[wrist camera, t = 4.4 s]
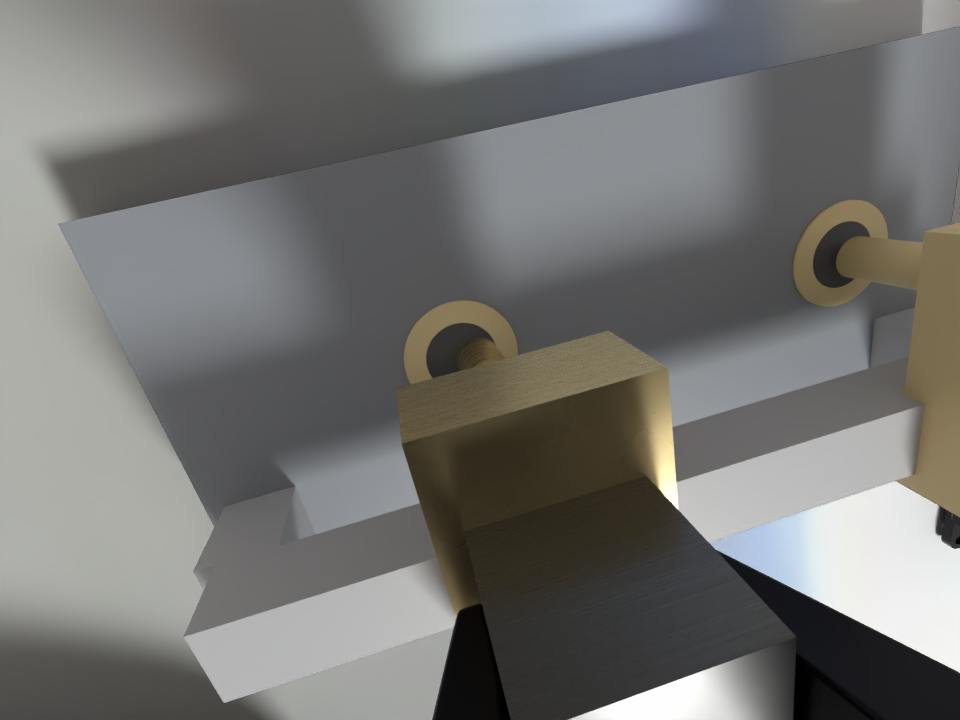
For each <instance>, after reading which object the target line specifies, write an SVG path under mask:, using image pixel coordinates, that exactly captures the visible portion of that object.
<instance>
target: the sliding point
mask: <svg viewBox="0 0 960 720" xmlns="http://www.w3.org/2000/svg"><path fill="white" fill-rule="evenodd" d="M456 363H457V367H458V369H459V371H458V372H455V373H451V374H447V375H444V376H440V377H436V378H433V379H429V380H425V381H422V382H418V383H414V384H411V385H407V386H403V387H400V388H396V389H397V401H398V412H399V423H400V434H401V444H402V447H403V451H404V454H405V457H406V460H407V463H408V467H409V470H410V473H411V476H412V479H413V483H414V486H415V489H416V492H417V495H418V499H419V502H420V505H421V508H422V511H423V515H424V518H425V521H426V524H427V527H428V531H429V534H430V537H431V540H432V543H433V547H434V550H435V553H436V556H437V559H438V563H439V566H440V569H441V572H442V575H443V579H444V582H445V585H446V588H447V591H448V595H449V598H450V601H451V604H452V607H453V611H454V614H455V617H456V616H457V614H458V612H459V610H461V609H463V608H466V607H469V606H472V605H475V604H478V603H481V604H482V606H483V610H484V614H485V618H486V623H487V627H488V631H489V635H490V639H491V643H492V647H493V651H494V655H495V659H496V663H497V667H498V671H499V675H500V679H501V683H502V687H503V691H504V695H505V699H506V703H507V707H508V711H509V715H510V719H511V720H793V708H794V685H795V662H796V640H797V637H796V636H795V635H794V634H793V633H792V631H791V630H790V629H789V628H788V627H787V626H786V625H785V624H784V623H783V622H782V621H781V620H780V619H779V618H778V616H777V615H776V614H775V613H774V612H773V611H772V610H771V609H770V608H769V607H768V606H767V605H766V604H765V602H764V601H763V600H762V599H761V598H760V597H759V596H758V595H757V594H756V593H755V592H754V591H753V590H752V589H751V587H750V586H749V585H748V584H747V583H746V582H745V581H744V580H743V579H742V578H741V577H740V576H739V575H738V573H737V572H736V571H735V570H734V569H733V568H732V567H731V566H730V565H729V564H728V563H727V562H726V561H725V560H724V558H723V557H722V556H721V555H720V554H719V553H718V552H717V551H716V550H715V549H714V548H713V547H712V546H711V544H710V543H709V542H708V541H707V540H706V539H705V538H704V537H703V536H702V535H701V534H700V533H699V532H698V531H697V529H696V528H695V527H694V526H693V525H692V524H691V523H690V522H689V521H688V520H687V519H686V518H685V517H684V515H683V514H682V513H681V512H680V511H679V510H678V498H677V485H676V471H675V457H674V443H673V429H672V415H671V401H670V388H669V374H668V367H666V366H665V365H663V364H662V363H660V362H658V361H657V360H655V359H653V358H652V357H650V356H649V355H647V354H645V353H644V352H642V351H641V350H639V349H637V348H636V347H634V346H633V345H631V344H629V343H628V342H626V341H624V340H623V339H621V338H620V337H618V336H616V335H615V334H613V333H612V332H610V331H605V332H601V333H598V334H594V335H590V336H587V337H583V338H579V339H576V340H572V341H568V342H565V343H561V344H557V345H554V346H550V347H546V348H543V349H539V350H535V351H532V352H528V353H524V354H521V355H517V356H513V357H510V358H505V357H504V356H503V354H502V353H501V352H500V350H499V349H498V348H497V346H496V345H495V344H494V343H493V342H492V341H490V340H488V339H486V338H473V339H470V340H468V341H466V342H465V343H464V344H463V345H462V346H461V347H460V349H459V350H458V353H457V356H456Z"/></svg>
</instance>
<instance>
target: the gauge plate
mask: <svg viewBox="0 0 960 720" xmlns="http://www.w3.org/2000/svg"><path fill="white" fill-rule="evenodd" d="M959 164H960V27H955V28H951V29H946V30H941V31H937V32H932V33H928V34H923V35H919V36H914V37H909V38H905V39H900V40H896V41H891V42H887V43H882V44H877V45H873V46H868V47H864V48H859V49H855V50H850V51H845V52H841V53H836V54H832V55H827V56H823V57H818V58H813V59H809V60H804V61H800V62H795V63H791V64H786V65H781V66H777V67H772V68H768V69H763V70H759V71H754V72H749V73H745V74H740V75H736V76H731V77H727V78H722V79H717V80H713V81H708V82H704V83H699V84H695V85H690V86H685V87H681V88H676V89H672V90H667V91H663V92H658V93H653V94H649V95H644V96H640V97H635V98H631V99H626V100H621V101H617V102H612V103H608V104H603V105H599V106H594V107H589V108H585V109H580V110H576V111H571V112H567V113H562V114H557V115H553V116H548V117H544V118H539V119H535V120H530V121H525V122H521V123H516V124H512V125H507V126H503V127H498V128H493V129H489V130H484V131H480V132H475V133H471V134H466V135H461V136H457V137H452V138H448V139H443V140H439V141H434V142H429V143H425V144H420V145H416V146H411V147H407V148H402V149H397V150H393V151H388V152H384V153H379V154H375V155H370V156H365V157H361V158H356V159H352V160H347V161H343V162H338V163H333V164H329V165H324V166H320V167H315V168H311V169H306V170H301V171H297V172H292V173H288V174H283V175H279V176H274V177H269V178H265V179H260V180H256V181H251V182H247V183H242V184H237V185H233V186H228V187H224V188H219V189H215V190H210V191H205V192H201V193H196V194H192V195H187V196H183V197H178V198H173V199H169V200H164V201H160V202H155V203H151V204H146V205H141V206H137V207H132V208H128V209H123V210H119V211H114V212H109V213H105V214H100V215H96V216H91V217H87V218H82V219H77V220H73V221H68V222H64V223H59V224H58V225H59V227H60V229H61V231H62V233H63V235H64V237H65V238H66V240H67V242H68V244H69V246H70V248H71V250H72V252H73V254H74V256H75V258H76V260H77V262H78V264H79V266H80V268H81V269H82V271H83V273H84V275H85V277H86V279H87V281H88V283H89V285H90V287H91V289H92V291H93V293H94V295H95V297H96V299H97V301H98V302H99V304H100V306H101V308H102V310H103V312H104V314H105V316H106V318H107V320H108V322H109V324H110V326H111V328H112V330H113V332H114V333H115V335H116V337H117V339H118V341H119V343H120V345H121V347H122V349H123V351H124V353H125V355H126V357H127V359H128V361H129V363H130V364H131V366H132V368H133V370H134V372H135V374H136V376H137V378H138V380H139V382H140V384H141V386H142V388H143V390H144V392H145V394H146V396H147V397H148V399H149V401H150V403H151V405H152V407H153V409H154V411H155V413H156V415H157V417H158V419H159V421H160V423H161V425H162V427H163V428H164V430H165V432H166V434H167V436H168V438H169V440H170V442H171V444H172V446H173V448H174V450H175V452H176V454H177V456H178V458H179V459H180V461H181V463H182V465H183V467H184V469H185V471H186V473H187V475H188V477H189V479H190V481H191V483H192V485H193V487H194V489H195V491H196V492H197V494H198V496H199V498H200V500H201V502H202V504H203V506H204V508H205V510H206V512H207V514H208V516H209V518H210V520H211V522H212V523H213V525H214V529H213V531H212V534H211V536H210V538H209V540H208V542H207V544H206V546H205V548H204V550H203V552H202V554H201V556H200V558H199V560H198V563H197V565H196V567H195V569H194V573H195V575H196V577H197V578H198V580H199V582H200V584H201V586H202V587H203V589H204V591H203V594H202V596H201V598H200V601H199V603H198V605H197V608H196V610H195V612H194V614H193V617H192V619H191V621H190V624H189V626H188V628H187V631H186V633H185V635H184V638H185V640H186V642H187V643H188V645H189V647H190V648H191V650H192V652H193V653H194V655H195V657H196V658H197V660H198V661H199V663H200V665H201V666H202V668H203V670H204V671H205V673H206V675H207V676H208V678H209V679H210V681H211V683H212V684H213V686H214V688H215V689H216V691H217V693H218V694H219V696H220V698H221V699H222V701H223V702H224V703H226V702H229V701H232V700H235V699H238V698H241V697H244V696H247V695H250V694H253V693H256V692H259V691H262V690H265V689H268V688H271V687H274V686H277V685H280V684H283V683H286V682H289V681H292V680H295V679H298V678H301V677H304V676H307V675H310V674H313V673H316V672H319V671H323V670H326V669H329V668H332V667H335V666H338V665H341V664H344V663H347V662H350V661H353V660H356V659H359V658H362V657H365V656H368V655H371V654H374V653H377V652H380V651H383V650H386V649H389V648H392V647H395V646H398V645H401V644H404V643H407V642H410V641H413V640H416V639H419V638H422V637H425V636H428V635H431V634H434V633H437V632H440V631H443V630H446V629H449V628H452V627H454V625H455V620H456V617H455V614H454V611H453V607H452V604H451V601H450V598H449V595H448V591H447V588H446V585H445V582H444V579H443V575H442V572H441V569H440V566H439V563H438V559H437V556H436V553H435V550H434V547H433V543H432V540H431V537H430V534H429V531H428V527H427V524H426V521H425V518H424V515H423V511H422V508H421V505H420V502H419V499H418V495H417V492H416V489H415V486H414V483H413V479H412V476H411V473H410V470H409V467H408V463H407V460H406V457H405V454H404V451H403V447H402V444H401V434H400V423H399V412H398V401H397V389H396V388H400V387H403V386H407V385H411V384H414V383H418V382H422V381H425V380H429V379H433V378H436V377H440V376H444V375H447V374H451V373H455V372H458V371H459V369H458V367H457V363H456V356H457V353H458V350H459V349H460V347H461V346H462V345H463V344H464V343H465V342H466V341H468V340H470V339H473V338H486V339H488V340H490V341H492V342H493V343H494V344H495V345H496V346H497V348H498V349H499V350H500V352H501V353H502V354H503V356H504V357H505V358H510V357H513V356H517V355H521V354H524V353H528V352H532V351H535V350H539V349H543V348H546V347H550V346H554V345H557V344H561V343H565V342H568V341H572V340H576V339H579V338H583V337H587V336H590V335H594V334H598V333H601V332H605V331H610V332H612V333H613V334H615V335H616V336H618V337H620V338H621V339H623V340H624V341H626V342H628V343H629V344H631V345H633V346H634V347H636V348H637V349H639V350H641V351H642V352H644V353H645V354H647V355H649V356H650V357H652V358H653V359H655V360H657V361H658V362H660V363H662V364H663V365H665V366H666V367H668V374H669V388H670V401H671V415H672V429H673V443H674V457H675V471H676V485H677V498H678V510H679V511H680V512H681V513H682V514H683V515H684V517H685V518H686V519H687V520H688V521H689V522H690V523H691V524H692V525H693V526H694V527H695V528H696V529H697V531H698V532H699V533H700V534H701V535H702V536H703V537H704V538H705V539H706V540H707V541H708V542H712V541H715V540H718V539H721V538H724V537H727V536H730V535H733V534H736V533H739V532H742V531H745V530H748V529H751V528H754V527H757V526H760V525H763V524H766V523H769V522H772V521H775V520H778V519H781V518H784V517H788V516H791V515H794V514H797V513H800V512H803V511H806V510H809V509H812V508H815V507H818V506H821V505H824V504H827V503H830V502H833V501H836V500H839V499H842V498H845V497H848V496H851V495H854V494H857V493H860V492H863V491H866V490H869V489H872V488H875V487H878V486H881V485H884V484H887V483H890V482H893V481H897V482H898V483H900V484H902V485H904V486H905V487H907V488H909V489H911V490H913V491H914V492H916V493H918V494H920V495H921V496H923V497H925V498H927V499H928V500H930V501H932V502H934V503H935V504H937V505H939V506H941V507H942V508H944V509H946V510H948V511H950V512H951V513H953V514H955V515H957V516H958V517H960V222H958V223H955V224H951V220H952V213H953V206H954V199H955V192H956V185H957V178H958V171H959Z"/></svg>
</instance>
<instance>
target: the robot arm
mask: <svg viewBox="0 0 960 720" xmlns="http://www.w3.org/2000/svg"><path fill="white" fill-rule="evenodd" d="M941 540H942V541H943V542H944V543H945V544H947V545H948V546H950V547H952V548H954V549H957V548H960V517H958V516H957V515H955V514H953V513H951V512H950V511H948V510H946V514H945V520H944V525H943V531H942V537H941ZM716 551H717V550H716ZM717 552H718V553H719V554H720V555H721V556H722V557H723V558H724V560H725V561H726V562H727V563H728V564H729V565H730V566H731V567H732V568H733V569H734V570H735V571H736V572H737V573H738V575H739V576H740V577H741V578H742V579H743V580H744V581H745V582H746V583H747V584H748V585H749V586H750V587H751V589H752V590H753V591H754V592H755V593H756V594H757V595H758V596H759V597H760V598H761V599H762V600H763V601H764V602H765V604H766V605H767V606H768V607H769V608H770V609H771V610H772V611H773V612H774V613H775V614H776V615H777V616H778V618H779V619H780V620H781V621H782V622H783V623H784V624H785V625H786V626H787V627H788V628H789V629H790V630H791V631H792V633H793V634H794V635H795V636H796V637H797V640H796V662H795V685H794V708H793V720H960V673H959V672H957V671H955V670H953V669H951V668H949V667H947V666H945V665H943V664H941V663H939V662H937V661H935V660H933V659H931V658H929V657H927V656H926V655H924V654H922V653H920V652H918V651H916V650H914V649H912V648H910V647H908V646H906V645H904V644H902V643H900V642H898V641H896V640H894V639H892V638H890V637H888V636H886V635H884V634H882V633H880V632H878V631H876V630H874V629H872V628H870V627H868V626H866V625H864V624H862V623H860V622H858V621H856V620H854V619H852V618H850V617H848V616H846V615H844V614H842V613H840V612H838V611H836V610H834V609H832V608H830V607H828V606H826V605H824V604H822V603H820V602H818V601H816V600H815V599H813V598H811V597H809V596H807V595H805V594H803V593H801V592H799V591H797V590H795V589H793V588H791V587H789V586H787V585H785V584H783V583H781V582H779V581H777V580H775V579H773V578H771V577H769V576H767V575H765V574H763V573H761V572H759V571H757V570H755V569H753V568H751V567H749V566H747V565H745V564H743V563H741V562H739V561H737V560H735V559H733V558H731V557H729V556H727V555H725V554H723V553H721V552H719V551H717ZM432 720H511V719H510V715H509V711H508V707H507V703H506V699H505V695H504V691H503V687H502V683H501V679H500V675H499V671H498V667H497V663H496V659H495V655H494V651H493V647H492V643H491V639H490V635H489V631H488V627H487V623H486V618H485V614H484V610H483V606H482V604H481V603H478V604H475V605H472V606H469V607H466V608H463V609H461V610H459V612H458V614H457V616H456V620H455V625H454V629H453V633H452V637H451V642H450V646H449V650H448V654H447V659H446V663H445V667H444V672H443V676H442V680H441V684H440V689H439V693H438V697H437V701H436V706H435V710H434V714H433V719H432Z"/></svg>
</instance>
